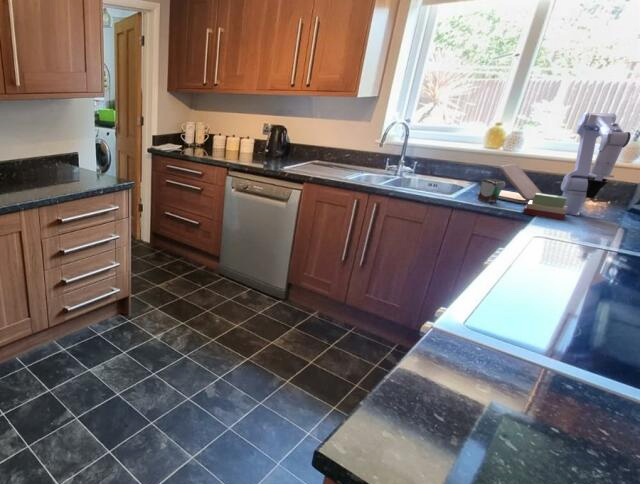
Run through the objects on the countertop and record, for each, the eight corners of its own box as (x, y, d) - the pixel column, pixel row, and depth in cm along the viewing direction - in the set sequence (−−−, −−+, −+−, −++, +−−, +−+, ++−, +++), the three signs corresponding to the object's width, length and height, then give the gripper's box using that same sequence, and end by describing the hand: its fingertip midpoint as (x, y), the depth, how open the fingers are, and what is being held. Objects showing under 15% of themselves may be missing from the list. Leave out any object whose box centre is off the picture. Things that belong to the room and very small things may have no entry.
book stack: (525, 209, 193) (528, 199, 191) (564, 215, 184) (568, 206, 183) (522, 213, 186) (526, 203, 184) (563, 220, 177) (567, 210, 175)
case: (525, 205, 201) (538, 171, 195) (474, 195, 217) (485, 163, 211) (542, 201, 210) (555, 168, 204) (492, 191, 227) (503, 161, 221)
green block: (532, 201, 188) (536, 192, 187) (563, 206, 182) (567, 197, 180) (531, 203, 185) (535, 194, 184) (562, 208, 178) (566, 198, 177)
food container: (504, 205, 199) (512, 184, 195) (490, 203, 200) (497, 183, 196) (489, 198, 210) (496, 178, 207) (475, 197, 211) (482, 177, 208)
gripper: (620, 165, 161) (604, 200, 166) (618, 163, 171) (603, 196, 176) (594, 163, 166) (579, 197, 171) (593, 160, 175) (579, 192, 180)
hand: (589, 196), depth 174 cm, fingers open, 7 cm apart
